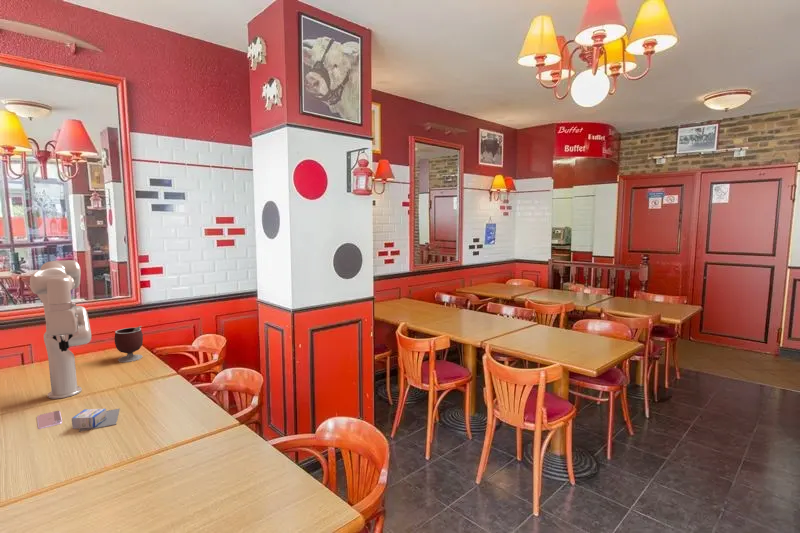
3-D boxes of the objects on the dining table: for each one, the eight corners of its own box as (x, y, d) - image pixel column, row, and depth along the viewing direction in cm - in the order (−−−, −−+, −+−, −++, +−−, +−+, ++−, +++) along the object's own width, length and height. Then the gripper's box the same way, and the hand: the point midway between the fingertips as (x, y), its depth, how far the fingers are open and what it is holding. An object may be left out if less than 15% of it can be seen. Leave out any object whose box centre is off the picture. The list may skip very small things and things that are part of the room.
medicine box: (84, 409, 175) (106, 408, 175) (85, 419, 175) (107, 418, 176) (70, 418, 167) (94, 416, 167) (72, 429, 167) (95, 427, 168)
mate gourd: (110, 362, 245) (107, 328, 243) (129, 354, 259) (126, 322, 257) (134, 363, 243) (131, 329, 241) (152, 355, 257) (149, 323, 254)
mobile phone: (59, 409, 184) (62, 421, 172) (60, 411, 184) (62, 424, 173) (36, 414, 179) (38, 428, 167) (36, 417, 179) (38, 430, 168)
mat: (85, 415, 179) (85, 414, 179) (119, 409, 185) (119, 408, 185) (78, 431, 165) (78, 431, 165) (116, 424, 171) (115, 424, 171)
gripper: (84, 303, 183) (87, 345, 186) (39, 307, 176) (43, 350, 178) (81, 307, 177) (85, 350, 179) (34, 310, 170) (39, 355, 172)
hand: (64, 350), depth 179 cm, fingers closed
